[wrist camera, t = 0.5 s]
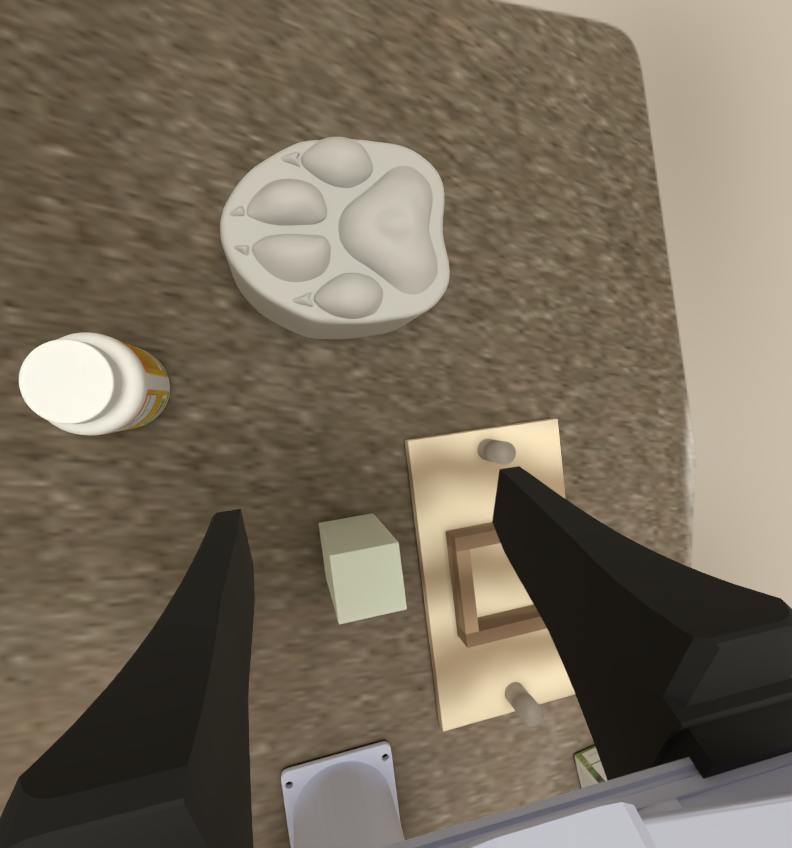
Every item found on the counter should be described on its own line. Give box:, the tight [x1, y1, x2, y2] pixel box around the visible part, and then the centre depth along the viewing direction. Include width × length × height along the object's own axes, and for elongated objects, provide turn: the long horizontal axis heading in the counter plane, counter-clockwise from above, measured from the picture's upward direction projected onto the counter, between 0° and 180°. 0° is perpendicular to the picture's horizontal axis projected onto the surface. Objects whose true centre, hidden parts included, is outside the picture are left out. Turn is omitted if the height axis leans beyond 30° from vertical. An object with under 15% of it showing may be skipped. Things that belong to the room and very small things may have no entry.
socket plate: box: [405, 419, 575, 731], centre depth 37 cm, size 22×12×4 cm, turn 7°
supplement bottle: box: [19, 333, 170, 435], centre depth 28 cm, size 5×5×10 cm
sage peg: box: [319, 513, 407, 624], centre depth 33 cm, size 4×4×8 cm
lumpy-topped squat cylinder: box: [220, 137, 450, 339], centre depth 31 cm, size 10×13×9 cm
